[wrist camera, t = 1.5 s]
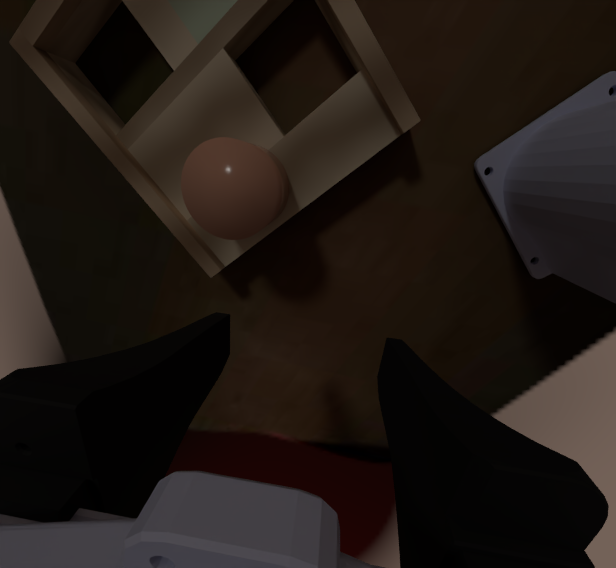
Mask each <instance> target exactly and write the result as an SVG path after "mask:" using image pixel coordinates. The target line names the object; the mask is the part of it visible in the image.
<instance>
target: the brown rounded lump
mask: <svg viewBox="0 0 616 568" xmlns="http://www.w3.org/2000/svg"><path fill="white" fill-rule="evenodd" d="M181 191H182V196H183V200H184V203H185V205H186V207H187V210H188V211H189V213H190V215H191V216H192V218H193V219H194V220H195V221H196V222H197V224H198V225H199V226H201V227H202V228H203V229H204V230H206V231H207V232H208V233H210V234H212V235H214V236H216V237H219V238H223V239H228V240H240V239H245V238H248V237H250V236H253V235H254V234H256V233H258V232H259V231H260V230H262V229H263V228H264V227H266V226H267V225H269V224H270V223H271V222H273V221H274V220H275V219H276V218H278V217H279V216H280V214H281V213H282V212H283V210H284V209H285V206H286V204H287V201H288V197H289V180H288V176H287V173H286V170H285V168H284V166H283V165H282V163H281V162H280V160H279V159H278V158H277V157H276V156H275V155H274V154H273V153H271V152H270V151H269V150H267V149H265V148H263V147H260V146H258V145H254V144H251V143H248V142H244V141H241V140H238V139H234V138H228V137H218V138H213V139H210V140H207V141H205V142H203V143H201V144H200V145H199V146H197V147H196V148H195V149H194V150H193V151H192V152H191V153H190V155H189V156H188V158H187V160H186V162H185V164H184V167H183V170H182V176H181Z"/></svg>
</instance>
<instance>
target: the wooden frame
mask: <svg viewBox="0 0 616 568" xmlns="http://www.w3.org/2000/svg"><path fill="white" fill-rule="evenodd" d="M122 1H123V2H124V4H125V5H126V6H127V8H128V9H129V10H130V12H131V13H132V14H133V16H134V17H135V18H136V20H137V21H138V23H139V24H140V25H141V27H142V28H143V29H144V31H145V32H146V33H147V35H148V36H149V37H150V39H151V40H152V42H153V43H154V44H155V46H156V47H157V48H158V50H159V51H160V52H161V54H162V55H163V56H164V58H165V59H166V61H167V62H168V63H169V65H170V66H171V67H172V69H173V70H174V72H173V73H172V74H171V75H170V76H169V77H168V78H167V79H166V80H165V82H164V83H163V84H162V85H161V86H160V87H159V88H158V89H157V90H156V92H155V93H154V94H153V95H152V96H151V97H150V98H149V99H148V100H147V102H146V103H145V104H144V105H143V106H142V107H141V108H140V109H139V110H138V112H137V113H136V114H135V115H134V116H133V117H132V118H131V119H130V120H129V121H128V123H127V124H126V125H125V124H124V122H123V121H122V120H121V119H120V118H119V116H118V115H117V114H116V113H115V111H114V110H113V109H112V108H111V106H110V105H109V104H108V103H107V102H106V100H105V99H104V98H103V97H102V95H101V94H100V93H99V92H98V91H97V89H96V88H95V87H94V86H93V84H92V83H91V82H90V81H89V80H88V78H87V77H86V76H85V75H84V73H83V72H82V71H81V70H80V68H79V67H78V66H77V65H76V64H75V63H76V62H77V60H78V59H79V58H80V56H81V55H82V54H83V52H84V51H85V50H86V48H87V47H88V46H89V44H90V43H91V42H92V40H93V39H94V38H95V36H96V35H97V34H98V32H99V31H100V30H101V29H102V27H103V26H104V25H105V23H106V22H107V21H108V19H109V18H110V17H111V15H112V14H113V13H114V11H115V10H116V9H117V7H118V6H119V5H120V3H121V2H122ZM293 1H294V0H36V1H35V3H34V5H33V6H32V8H31V9H30V11H29V12H28V14H27V15H26V17H25V18H24V20H23V21H22V23H21V25H20V26H19V28H18V29H17V31H16V32H15V34H14V35H13V37H12V38H11V40H10V42H9V43H10V44H11V45H12V46H13V48H14V49H15V50H16V51H17V52H18V53H19V55H20V56H21V57H22V58H23V59H24V61H25V62H26V63H27V64H28V65H29V66H30V68H31V69H32V70H33V71H34V72H35V73H36V75H37V76H38V77H39V78H40V79H41V80H42V82H43V83H44V84H45V85H46V86H47V87H48V89H49V90H50V91H51V92H52V93H53V94H54V96H55V97H56V98H57V99H58V100H59V101H60V103H61V104H62V105H63V106H64V107H65V108H66V110H67V111H68V112H69V113H70V114H71V115H72V117H73V118H74V119H75V120H76V121H77V122H78V124H79V125H80V126H81V127H82V128H83V129H84V131H85V132H86V133H87V134H88V135H89V136H90V138H91V139H92V140H93V141H94V142H95V143H96V145H97V146H98V147H99V148H100V149H101V150H102V152H103V153H104V154H105V155H106V156H107V157H108V159H109V160H110V161H111V162H112V163H113V164H114V166H115V167H116V168H117V169H118V170H119V171H120V173H121V174H122V175H123V176H124V177H125V178H126V180H127V181H128V182H129V183H130V184H131V185H132V187H133V188H134V189H135V190H136V191H137V192H138V194H139V195H140V196H141V197H142V198H143V199H144V201H145V202H146V203H147V204H148V205H149V206H150V208H151V209H152V210H153V211H154V212H155V213H156V215H157V216H158V217H159V218H160V219H161V220H162V222H163V223H164V224H165V225H166V226H167V227H168V229H169V230H170V231H171V232H172V233H173V234H174V236H175V237H176V238H177V239H178V240H179V241H180V243H181V244H182V245H183V246H184V247H185V248H186V250H187V251H188V252H189V253H190V254H191V255H192V257H193V258H194V259H195V260H196V261H197V262H198V264H199V265H200V266H201V267H202V268H203V269H204V271H205V272H206V273H207V274H208V275H209V276H210V278H212V277H213V276H214V275H216V274H217V273H218V272H220V271H221V270H222V269H223V268H225V267H226V266H227V265H228V264H230V263H231V262H232V261H234V260H235V259H236V258H238V257H239V256H240V255H242V254H243V253H244V252H246V251H247V250H248V249H250V248H251V247H252V246H254V245H255V244H256V243H258V242H259V241H260V240H262V239H263V238H264V237H266V236H267V235H268V234H270V233H271V232H272V231H274V230H275V229H276V228H278V227H279V226H280V225H282V224H283V223H284V222H286V221H287V220H288V219H290V218H291V217H292V216H294V215H295V214H296V213H298V212H299V211H300V210H302V209H303V208H304V207H306V206H307V205H308V204H310V203H311V202H312V201H314V200H315V199H316V198H318V197H319V196H320V195H322V194H323V193H324V192H326V191H327V190H328V189H330V188H331V187H332V186H334V185H335V184H336V183H338V182H339V181H340V180H342V179H343V178H344V177H346V176H347V175H348V174H350V173H351V172H352V171H354V170H355V169H356V168H358V167H359V166H360V165H362V164H363V163H364V162H366V161H367V160H368V159H370V158H371V157H372V156H374V155H375V154H376V153H378V152H379V151H380V150H382V149H383V148H384V147H386V146H387V145H388V144H389V143H391V142H392V141H393V140H395V139H396V138H397V137H399V136H400V135H402V134H403V133H405V132H406V131H407V130H409V129H410V128H411V127H413V126H414V125H415V124H417V123H418V122H419V121H421V120H420V118H419V116H418V115H417V113H416V111H415V109H414V107H413V106H412V104H411V102H410V100H409V98H408V96H407V95H406V93H405V91H404V89H403V87H402V86H401V84H400V82H399V80H398V78H397V77H396V75H395V73H394V71H393V69H392V67H391V66H390V64H389V62H388V60H387V58H386V57H385V55H384V53H383V51H382V49H381V48H380V46H379V44H378V42H377V40H376V38H375V37H374V35H373V33H372V31H371V29H370V28H369V26H368V24H367V22H366V20H365V18H364V17H363V15H362V13H361V11H360V9H359V8H358V6H357V4H356V2H355V0H315V2H316V4H317V5H318V7H319V9H320V10H321V12H322V14H323V16H324V17H325V19H326V21H327V22H328V24H329V26H330V28H331V29H332V31H333V33H334V34H335V36H336V38H337V40H338V41H339V43H340V45H341V46H342V48H343V50H344V52H345V53H346V55H347V57H348V58H349V60H350V62H351V64H352V65H353V67H354V69H355V70H356V72H357V74H356V75H355V76H354V77H353V78H351V79H350V80H349V81H348V82H347V83H346V84H344V85H343V86H342V87H341V88H340V89H339V90H337V91H336V92H335V93H334V94H333V95H332V96H331V97H329V98H328V99H327V100H326V101H325V102H324V103H322V104H321V105H320V106H319V107H318V108H317V109H315V110H314V111H313V112H312V113H311V114H310V115H309V116H307V117H306V118H305V119H304V120H303V121H302V122H300V123H299V124H298V125H297V126H296V127H295V128H293V129H292V130H291V131H290V132H289V133H288V134H287V135H285V133H284V132H283V130H282V129H281V127H280V126H279V124H278V123H277V121H276V120H275V118H274V117H273V115H272V114H271V112H270V111H269V110H268V108H267V107H266V105H265V104H264V102H263V101H262V99H261V98H260V96H259V95H258V93H257V92H256V90H255V89H254V87H253V86H252V85H251V83H250V82H249V80H248V79H247V77H246V76H245V74H244V73H243V71H242V70H241V68H240V67H239V65H238V64H237V62H236V61H235V60H236V59H237V58H238V57H239V56H240V55H241V54H242V53H243V52H244V51H245V50H246V49H247V48H248V47H249V46H250V45H251V44H252V43H253V42H254V41H255V40H256V39H257V38H258V37H259V36H260V35H261V34H262V33H263V32H264V31H265V30H266V29H267V28H268V27H269V26H270V24H271V23H272V22H273V21H274V20H275V19H276V18H277V17H278V16H279V15H280V14H281V13H282V12H283V11H284V10H285V9H286V8H287V7H288V6H289V5H290V4H291V3H292V2H293ZM218 137H228V138H234V139H238V140H241V141H244V142H248V143H251V144H254V145H258V146H260V147H263V148H265V149H267V150H269V151H270V152H271V153H273V154H274V155H275V156H276V157H277V158H278V159H279V160H280V162H281V163H282V165H283V166H284V168H285V170H286V173H287V176H288V180H289V197H288V201H287V204H286V206H285V209H284V210H283V212H282V213H281V214H280V216H279V217H278V218H276V219H275V220H274V221H273V222H271V223H270V224H269V225H267V226H266V227H264V228H263V229H262V230H260V231H259V232H258V233H256V234H254V235H253V236H250V237H248V238H245V239H240V240H228V239H223V238H219V237H216V236H214V235H212V234H210V233H208V232H207V231H206V230H204V229H203V228H202V227H201V226H199V225H198V224H197V222H196V221H195V220H194V219H193V218H192V216H191V215H190V213H189V211H188V210H187V207H186V205H185V203H184V200H183V196H182V191H181V176H182V170H183V167H184V164H185V162H186V160H187V158H188V156H189V155H190V153H191V152H192V151H193V150H194V149H195V148H196V147H197V146H199V145H200V144H201V143H203V142H205V141H207V140H210V139H213V138H218Z"/></svg>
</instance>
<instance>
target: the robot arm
mask: <svg viewBox="0 0 616 568" xmlns="http://www.w3.org/2000/svg"><path fill="white" fill-rule="evenodd" d="M611 87H612V88H613V94H612V95H611V96H610V95H609V89H610V88H611ZM487 167H489V168H490V173H489V174H488V175H487V176H486V175H485V174H484V171H485V169H486V168H487ZM474 168H475V171H476V173H477V175H478V176H479V178H480V180H481V182H482V184H483V186H484V188H485V190H486V192H487V194H488V195H489V197H490V199H491V201H492V203H493V205H494V207H495V209H496V211H497V213H498V214H499V216H500V218H501V220H502V222H503V224H504V226H505V228H506V230H507V232H508V233H509V235H510V237H511V239H512V241H513V243H514V245H515V247H516V249H517V251H518V252H519V254H520V256H521V258H522V260H523V262H524V264H525V266H526V268H527V270H528V271H529V273H530V275H531V276H532V277H534V278H536V279H541V278H544V277H546V276H548V275H550V274H552V273H553V274H555V275H557V276H559V277H562V278H564V279H566V280H568V281H570V282H572V283H574V284H576V285H578V286H580V287H582V288H584V289H586V290H588V291H591V292H593V293H595V294H597V295H599V296H601V297H603V298H605V299H607V300H609V301H611V302H613V303H615V304H616V71H613V72H609V73H606V74H604V75H602V76H601V77H599V78H598V79H596V80H595V81H593V82H592V83H590V84H589V85H587V86H586V87H584V88H583V89H581V90H580V91H578V92H577V93H575V94H574V95H572V96H571V97H569V98H568V99H566V100H565V101H563V102H562V103H560V104H559V105H557V106H556V107H554V108H553V109H551V110H550V111H548V112H547V113H545V114H544V115H542V116H541V117H539V118H538V119H536V120H535V121H533V122H532V123H530V124H529V125H527V126H526V127H524V128H523V129H521V130H520V131H518V132H517V133H515V134H514V135H512V136H511V137H509V138H508V139H506V140H505V141H503V142H502V143H500V144H499V145H497V146H496V147H494V148H493V149H491V150H490V151H488V152H487V153H485V154H484V155H482V156H481V157H479V158H478V159H477V160H476V162H475V164H474ZM534 257H535V261H534V262H532V263H531V262H530V261H531V259H532V258H534ZM229 354H230V314H223V313H214V314H211V315H209V316H207V317H205V318H203V319H200V320H198V321H196V322H194V323H192V324H190V325H188V326H186V327H184V328H181V329H179V330H177V331H175V332H172V333H170V334H168V335H165V336H163V337H161V338H158V339H156V340H153V341H150V342H147V343H145V344H142V345H139V346H135V347H132V348H129V349H126V350H122V351H118V352H114V353H110V354H107V355H103V356H99V357H94V358H89V359H84V360H79V361H74V362H68V363H62V364H55V365H48V366H39V367H33V368H23V369H17V370H15V371H13V372H12V373H10V374H9V375H7V376H6V377H4V378H2V379H1V380H0V568H384V567H379V566H374V565H370V564H368V563H365V562H363V561H361V560H358V559H356V558H353V557H351V556H349V555H347V554H344V553H342V552H340V527H339V522H338V516H337V513H336V512H335V511H334V510H333V509H332V508H331V507H330V506H329V505H328V504H327V503H326V502H325V501H324V500H322V499H321V498H320V497H319V496H316V495H314V494H311V493H308V492H305V491H303V490H300V489H295V488H290V487H285V486H280V485H274V484H269V483H263V482H258V481H252V480H246V479H241V478H236V477H230V476H225V475H219V474H214V473H208V472H203V471H177V472H174V473H172V474H170V475H169V476H167V477H165V475H166V473H167V471H168V469H169V466H170V464H171V462H172V460H173V458H174V456H175V454H176V451H177V449H178V447H179V445H180V443H181V441H182V439H183V437H184V435H185V433H186V431H187V429H188V427H189V425H190V423H191V421H192V420H193V418H194V416H195V415H196V413H197V411H198V410H199V408H200V407H201V405H202V403H203V402H204V400H205V399H206V397H207V395H208V394H209V392H210V391H211V389H212V387H213V386H214V384H215V383H216V381H217V379H218V378H219V376H220V374H221V373H222V370H223V368H224V366H225V364H226V362H227V359H228V357H229ZM377 378H378V393H379V401H380V406H381V411H382V416H383V421H384V425H385V430H386V435H387V439H388V444H389V449H390V455H391V461H392V469H393V479H394V489H395V500H396V511H397V522H398V536H399V550H400V567H401V568H595V567H594V565H593V563H592V562H591V560H590V559H589V557H588V556H587V554H586V552H585V551H584V550H585V549H586V548H587V546H588V545H589V544H590V542H591V541H592V540H593V538H594V537H595V536H596V535H597V534H598V532H599V531H600V530H601V528H602V527H603V525H604V523H605V521H606V519H607V516H608V503H607V501H606V499H605V496H604V495H603V494H602V493H601V491H600V490H599V489H598V487H597V486H596V485H595V484H594V482H593V481H592V480H591V479H590V478H589V476H588V475H587V474H586V472H585V471H584V470H583V469H582V467H581V466H580V465H579V464H578V463H577V462H576V461H574V460H572V459H570V458H568V457H566V456H564V455H561V454H560V453H558V452H555V451H553V450H551V449H549V448H547V447H545V446H543V445H541V444H539V443H537V442H535V441H533V440H531V439H529V438H528V437H526V436H524V435H522V434H520V433H519V432H517V431H515V430H513V429H511V428H510V427H508V426H506V425H505V424H503V423H501V422H500V421H498V420H497V419H495V418H493V417H492V416H490V415H489V414H487V413H486V412H484V411H483V410H481V409H480V408H478V407H477V406H475V405H474V404H472V403H471V402H470V401H468V400H467V399H466V398H464V397H463V396H462V395H460V394H459V393H458V392H457V391H455V390H454V389H453V388H452V387H450V386H449V385H448V384H447V383H446V382H445V381H444V380H442V379H441V378H440V377H439V376H438V375H437V374H436V373H435V372H434V371H432V370H431V369H430V368H429V367H428V366H427V365H426V364H425V363H424V362H423V361H422V360H421V359H420V358H419V357H418V356H417V355H416V354H415V353H414V352H413V351H412V349H411V348H410V347H409V346H408V345H407V344H406V343H405V342H404V341H402V340H400V339H393V338H387V339H386V343H385V347H384V352H383V356H382V360H381V364H380V368H379V372H378V376H377ZM164 477H165V478H164Z"/></svg>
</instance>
